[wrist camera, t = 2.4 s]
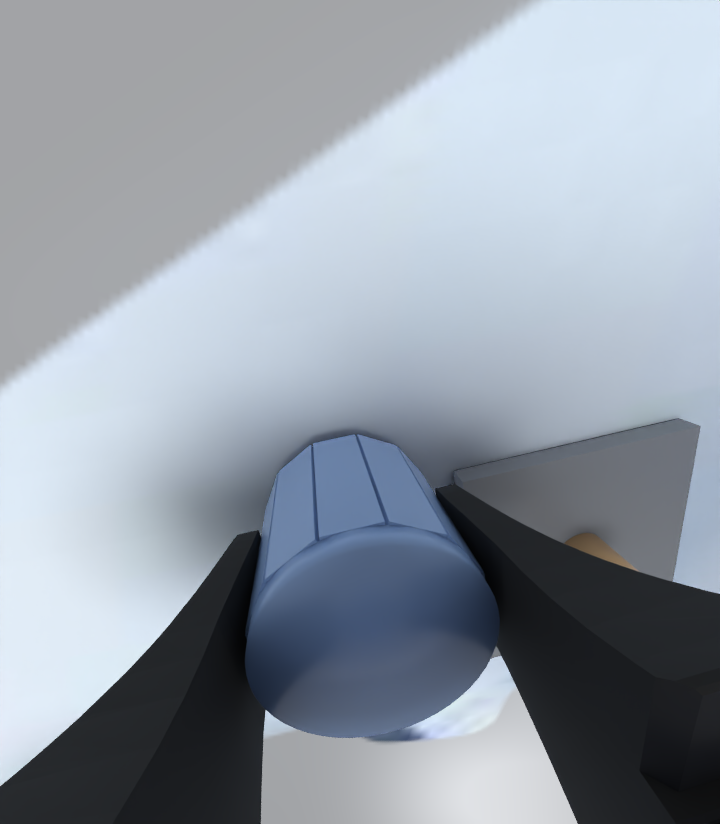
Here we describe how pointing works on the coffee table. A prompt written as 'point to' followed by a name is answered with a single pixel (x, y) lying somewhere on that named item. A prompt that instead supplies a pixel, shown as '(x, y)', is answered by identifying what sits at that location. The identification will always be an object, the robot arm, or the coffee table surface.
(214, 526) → the coffee table surface
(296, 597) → the cap
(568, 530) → the plate
